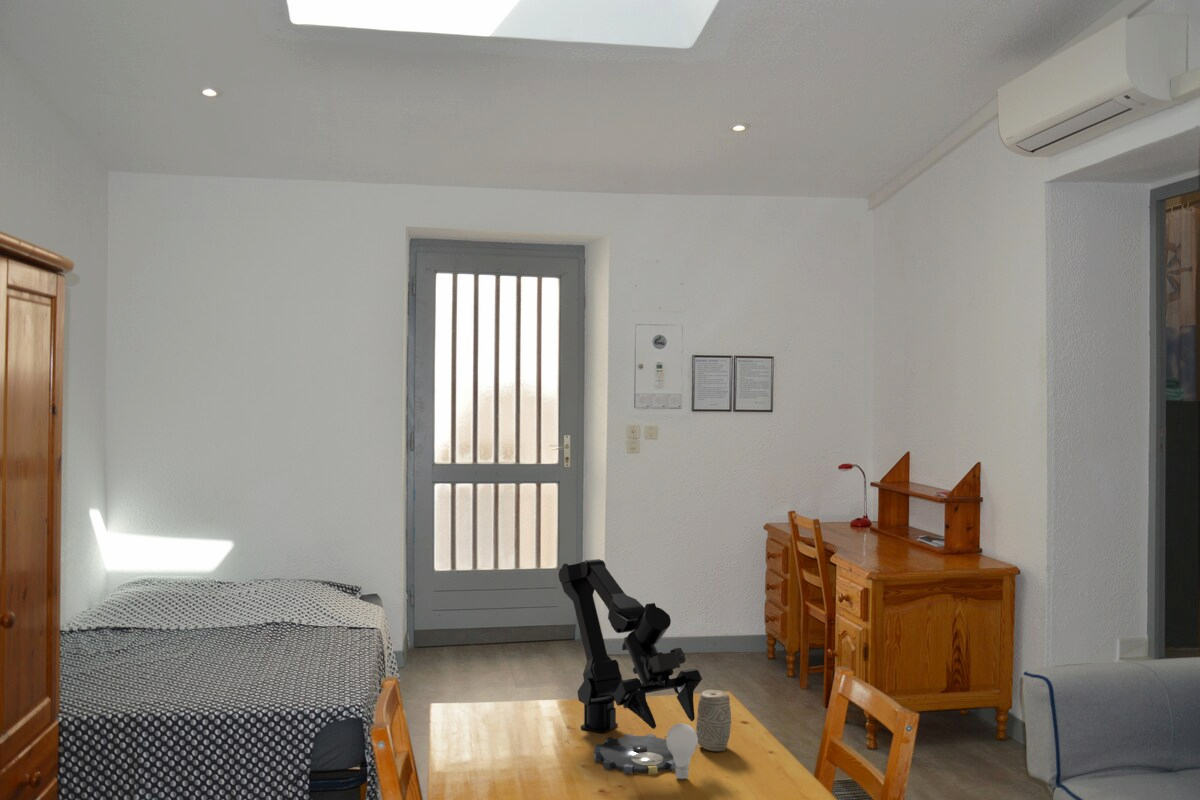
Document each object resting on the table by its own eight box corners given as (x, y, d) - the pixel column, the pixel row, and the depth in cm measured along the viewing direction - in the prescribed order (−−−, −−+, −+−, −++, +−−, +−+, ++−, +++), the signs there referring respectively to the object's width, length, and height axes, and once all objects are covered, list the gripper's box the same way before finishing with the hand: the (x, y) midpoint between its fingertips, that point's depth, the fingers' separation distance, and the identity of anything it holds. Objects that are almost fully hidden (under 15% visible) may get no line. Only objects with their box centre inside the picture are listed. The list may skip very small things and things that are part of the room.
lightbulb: (663, 773, 197) (663, 719, 197) (694, 772, 197) (694, 718, 197) (668, 786, 191) (668, 730, 191) (700, 785, 191) (700, 729, 191)
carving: (730, 754, 207) (730, 698, 207) (694, 752, 209) (694, 696, 209) (732, 744, 214) (732, 689, 214) (697, 741, 215) (697, 687, 215)
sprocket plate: (576, 762, 203) (576, 753, 203) (623, 734, 219) (623, 726, 219) (658, 782, 193) (658, 772, 193) (701, 751, 209) (701, 742, 209)
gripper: (620, 641, 197) (649, 710, 187) (697, 630, 206) (728, 696, 196) (601, 670, 204) (628, 739, 194) (676, 659, 213) (706, 724, 203)
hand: (674, 724), depth 197 cm, fingers open, 9 cm apart
